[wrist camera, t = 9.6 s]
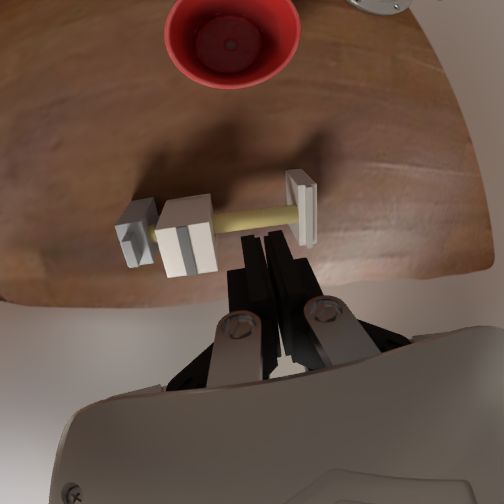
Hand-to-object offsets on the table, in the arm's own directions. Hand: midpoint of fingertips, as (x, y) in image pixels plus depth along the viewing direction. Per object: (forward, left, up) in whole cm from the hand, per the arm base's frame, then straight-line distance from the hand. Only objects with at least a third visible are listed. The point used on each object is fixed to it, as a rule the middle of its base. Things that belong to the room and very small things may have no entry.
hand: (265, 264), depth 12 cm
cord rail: (+3, +7, -24) cm, 25 cm away
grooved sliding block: (+6, +7, -21) cm, 23 cm away
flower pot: (-1, -12, -24) cm, 27 cm away
